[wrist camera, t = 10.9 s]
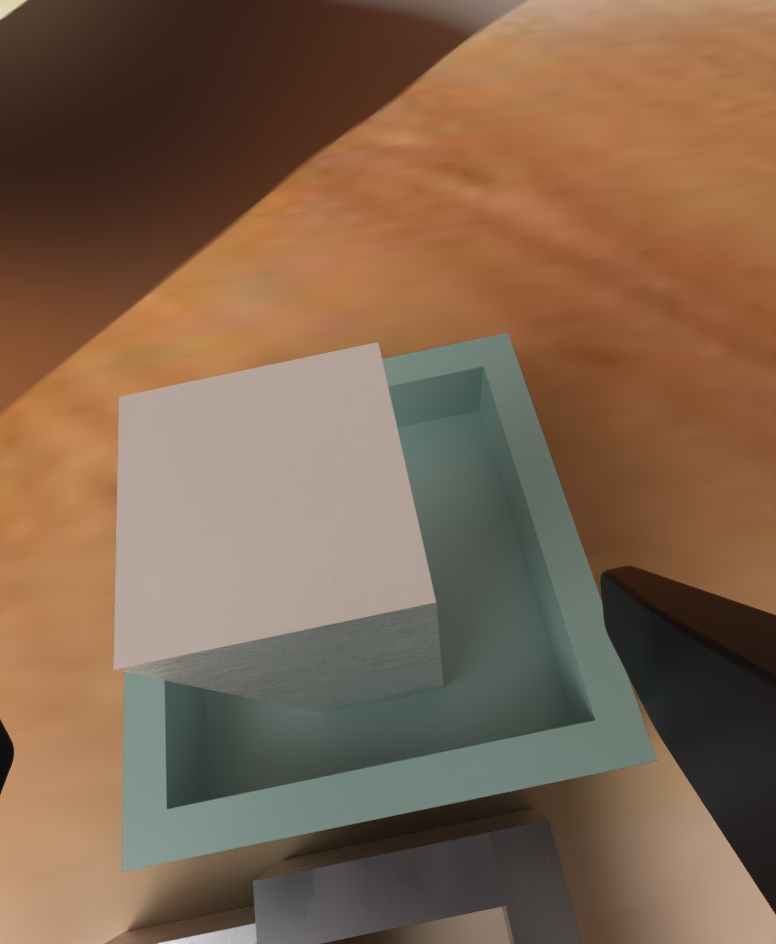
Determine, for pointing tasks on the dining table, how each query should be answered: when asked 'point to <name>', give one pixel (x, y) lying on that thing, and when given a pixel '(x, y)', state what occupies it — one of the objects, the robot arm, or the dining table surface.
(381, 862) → the tensioner bracket
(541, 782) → the tray
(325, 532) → the pin
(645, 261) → the dining table surface
